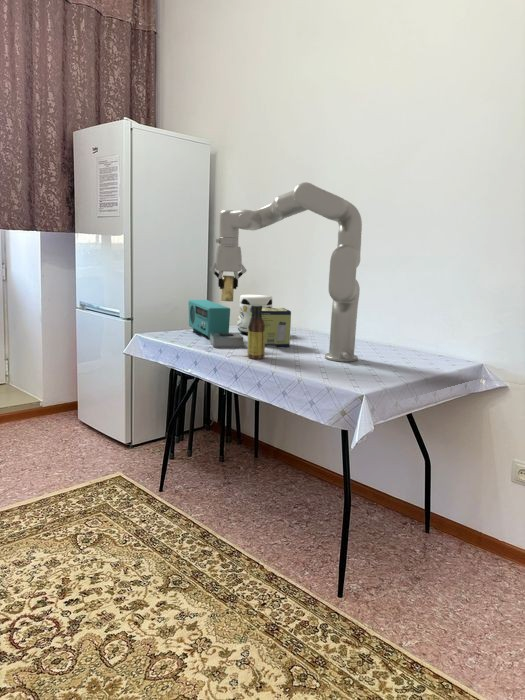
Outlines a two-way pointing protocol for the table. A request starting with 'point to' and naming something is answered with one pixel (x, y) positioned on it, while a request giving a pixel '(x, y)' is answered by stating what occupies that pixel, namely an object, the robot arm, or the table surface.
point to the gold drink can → (227, 288)
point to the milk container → (245, 309)
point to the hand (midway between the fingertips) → (228, 288)
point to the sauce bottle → (256, 334)
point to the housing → (226, 340)
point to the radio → (208, 317)
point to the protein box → (276, 326)
